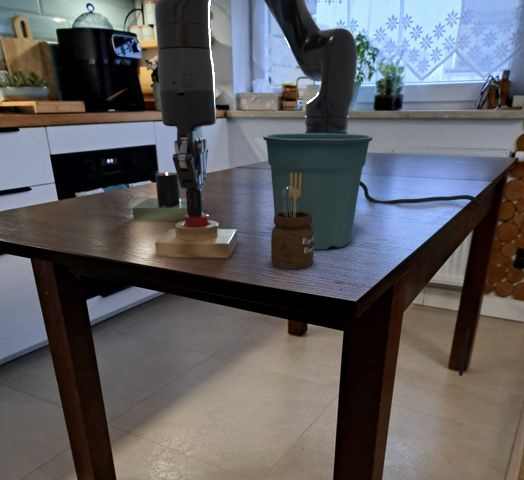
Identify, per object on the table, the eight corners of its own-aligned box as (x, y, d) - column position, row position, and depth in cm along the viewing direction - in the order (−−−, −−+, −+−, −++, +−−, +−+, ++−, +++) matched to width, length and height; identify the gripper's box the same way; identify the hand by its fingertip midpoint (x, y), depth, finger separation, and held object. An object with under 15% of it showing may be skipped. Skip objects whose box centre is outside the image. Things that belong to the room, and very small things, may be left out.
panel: (204, 210, 108) (203, 197, 107) (194, 221, 99) (193, 207, 98) (148, 210, 109) (147, 197, 108) (133, 220, 100) (131, 206, 99)
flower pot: (315, 225, 95) (318, 130, 88) (385, 242, 84) (396, 134, 76) (243, 239, 86) (241, 135, 79) (311, 261, 74) (315, 141, 67)
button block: (237, 242, 85) (236, 217, 83) (228, 258, 76) (227, 231, 75) (171, 241, 86) (169, 217, 84) (156, 257, 77) (153, 230, 76)
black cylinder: (160, 200, 105) (158, 170, 103) (182, 200, 105) (179, 170, 102) (155, 204, 101) (152, 173, 99) (177, 204, 101) (175, 173, 98)
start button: (210, 224, 81) (210, 212, 80) (206, 229, 78) (205, 217, 77) (188, 224, 81) (187, 212, 80) (182, 229, 78) (181, 217, 77)
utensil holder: (268, 269, 71) (267, 179, 66) (274, 257, 77) (274, 172, 71) (311, 271, 70) (313, 179, 65) (314, 258, 76) (317, 172, 70)
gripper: (172, 88, 77) (181, 206, 85) (146, 87, 65) (160, 225, 73) (221, 88, 77) (226, 207, 84) (204, 87, 65) (212, 225, 72)
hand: (195, 215), depth 79 cm, fingers closed
